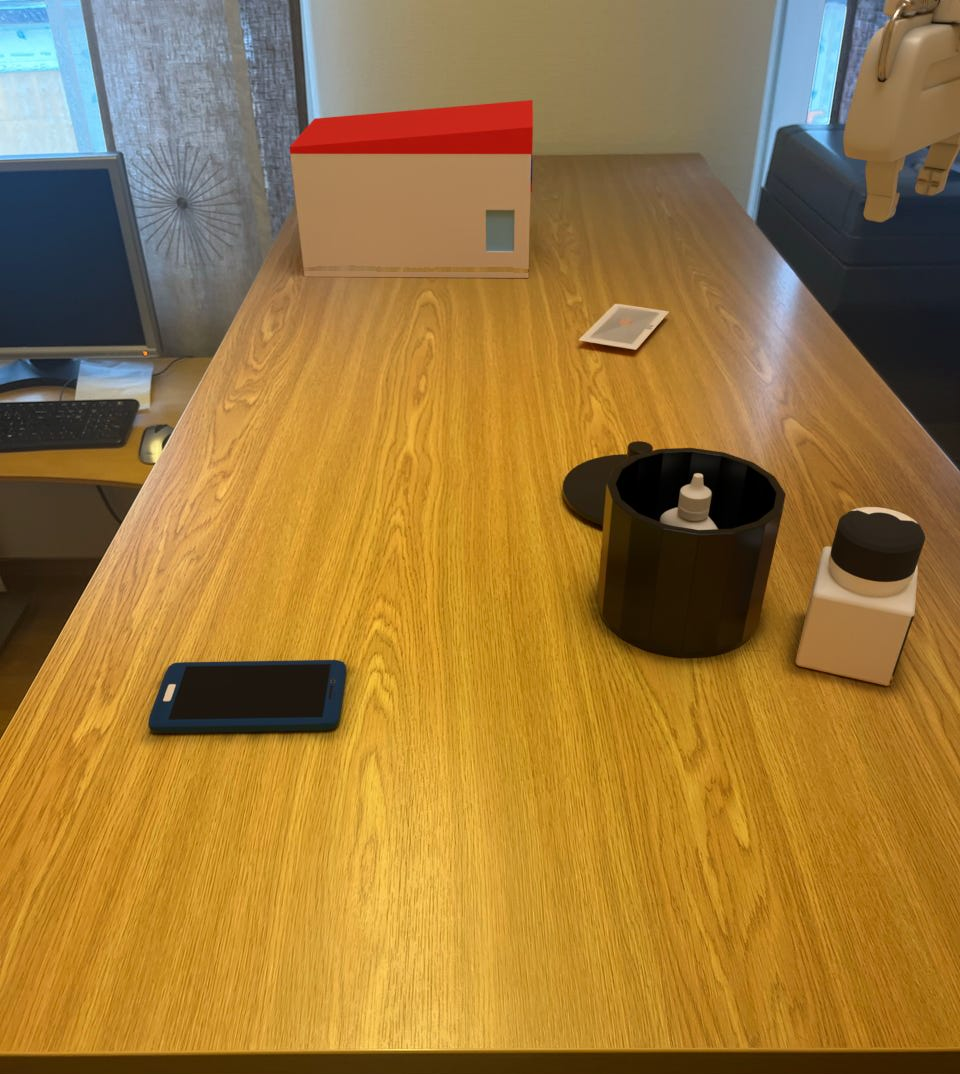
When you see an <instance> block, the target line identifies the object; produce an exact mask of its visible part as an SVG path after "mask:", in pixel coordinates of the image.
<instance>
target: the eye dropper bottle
mask: <svg viewBox="0 0 960 1074" xmlns="http://www.w3.org/2000/svg"><path fill="white" fill-rule="evenodd" d="M711 496H712V492H711V490H710V489H709V488H707V487H706V486H704V484H703V475H702V474H700V473H696V474H694V476H693V479H692V481H691V484H688V485H685V486H683V487H682V488H681V489H680V496H679V503H678V508H673V509H671V510H668V511H666V512H665V513H663V514H662V515H661V517H660V521H659V522H661V523H664V524H666V525H671V526H678V527H684V528H690V529H696V530H712V529H718V528H717V527H716V525H715V524H714V522H713V521H712V520H711V519H710V518H709V517H708V514H709V508H710V502H711Z"/></svg>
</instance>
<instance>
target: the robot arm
mask: <svg viewBox="0 0 960 1074" xmlns="http://www.w3.org/2000/svg"><path fill="white" fill-rule="evenodd" d="M883 14H884V15H885V16H887V17H890V19H888V20H886V21H885V23H884V26H883V27H880V28H879V29H878V30H877V31H876V32H875V33H874V34H873V35H872V37H871V38H870V40H869V42H868V44H867V47H866V49H865V52H864V55H863V58H862V60H861V61H862V62H861V65H860V67H859V70H858V75H857V78H856V83H855V86H854V90H853V94H852V98H851V101H850V106H849V109H848V114H847V117H846V122H845V126H844V130H843V136H842V144H843V145H842V146H843V151H844V155H845V156H846V157H847V158H850V159H854V160H860V161H865V162H866V164H865V168H864V173H865V184H866V185H865V186H866V193H867V194H866V199H865V203H864V209H863V212H862V213H863V218H864V219H865V220H867V221H871V222H876V223H884V222H886V221H887V220H889V219H891V218H893V217H894V216H895V214H896V211H897V206H898V203H899V200H900V195H901V193H900V192H897V189H898V179H899V172H901V171H902V170H903V168H904V164H905V160H906V156H909V155H911V154H913V153H915V152H918V151H921V150H922V149H925V148H928V147H929V149H928V152H927V155H926V158H925V161H924V164H923V166H922V167H920V168H919V170H918V174H917V178H916V179H917V180H916V183H915V186H914V190H915V193H917V195H922V196H923V195H924V196H929V197H933V196H935V195H937V194H939V193H941V192H943V191H944V190H945V187H946V183H947V180H948V176H949V173H950V169H951V168H952V166H953V164H954V162H955V160H956V158H957V156H958V154H959V153H960V0H885V1H884V5H883Z"/></svg>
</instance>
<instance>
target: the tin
mask: <svg viewBox="0 0 960 1074" xmlns="http://www.w3.org/2000/svg"><path fill="white" fill-rule="evenodd" d="M696 473H700V474H702V475H703V484H704V486H706V487H707V488H709V489H710V490H711V492H712V496H711V502H710V508H709V514H708V517H709V518H710V519H711V520H712V521H713V522H714V524H715V525H716V527H717V528H718V529H712V530H696V529H690V528H684V527H678V526H671V525H666V524H664V523H661V522H659V521H660V517H661V515H662V514H663V513H665V512H666V511H668V510H671V509H673V508H678V503H679V496H680V489H681V488H682V487H683V486H685V485H688V484H691V481H692V479H693V476H694V474H696ZM785 500H786V492H785V490H784V489H783V487H782V485H781V484H780V482H779V481H778V478H776V476H775V475H774V474H772V473H770V472H769V471H767V470H766V469H764V468H763V467H761V466H760V465H758V464H756V463H755V462H754V461H750V460H748V459H745V458H741V457H740V456H736V455H733V454H730V453H727V452H723V451H719V450H718V451H716V450H710V449H702V448H696V447H675V448H674V447H673V448H658V449H653V451H650V452H646V453H642V454H638V455H634V456H632V457H630V458H629V459H627V460H626V461H624V462H622V463H621V464H619V465H618V466H616V467H615V468H614V469H613V471H612V473H611V475H610V477H609V480H608V482H607V486H606V498H605V510H604V521H603V526H602V533H601V534H602V536H601V545H600V557H599V569H598V570H599V571H598V582H597V593H596V594H597V595H596V598H597V599H596V600H597V606H598V607H597V608H598V612H599V614H600V617H601V619H602V620H603V622H604V624H605V625H606V626H607V627H608V629H610V631H612V632H613V633H614V634H615V635H616V636H617V637H619V638H620V639H622V640H623V641H625V642H627V643H629V644H630V645H632V646H634V647H636V648H639V649H641V650H644V651H647V652H649V653H653V654H658V655H662V656H667V657H672V658H685V659H686V658H693V659H694V658H696V659H697V658H706V657H707V658H708V657H712V656H713V657H714V656H719V655H722V654H726V653H729V652H730V651H732V650H735V649H738V648H739V647H740V646H743V645H744V644H745V643H746V642H748V641H749V640H750V638H751V637H752V636H753V635H754V634H755V632H756V631H757V628H758V627H759V624H760V623H759V622H760V618H761V614H762V609H763V604H764V600H765V596H766V591H767V586H768V581H769V576H770V572H771V567H772V563H773V557H774V553H775V548H776V544H777V540H778V534H779V529H780V526H781V520H782V516H783V511H784V506H785Z"/></svg>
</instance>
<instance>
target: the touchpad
mask: <svg viewBox="0 0 960 1074" xmlns="http://www.w3.org/2000/svg"><path fill="white" fill-rule="evenodd" d="M669 313H670V311H669V310H662V309H656V308H649V307H641V306H635V305H628V304H622V303H614V304H613V305H612V306H611V307H610V308H609V309H608V310H606V312H605V313H604V314H603V315H602V316H601V317H600V318H599V319H598V320H597V321H596V322H595V323H594V324H593V325H592V326H591V327H590V328H589V329H588V330H587V331H586V332H584V334H583V335H582V336H581V337H579V339H578V341H581V342H587V343H592V344H599V345H604V346H610V347H616V348H622V349H629V350H633V351H635V350H637V349H638V348H640V346H641V345H642V344H643V343H644V342H645V340H646V339H647V338H648V337H649V336H650V335H651V334H652V333H653V331H654V330H655V329H656V328H657V326H658V325H659V324H660V323H662V321H663V320H664V319H665V318H666V317H667V316H668V314H669Z"/></svg>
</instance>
